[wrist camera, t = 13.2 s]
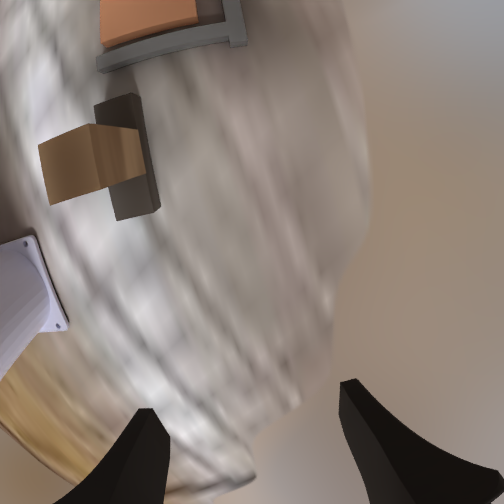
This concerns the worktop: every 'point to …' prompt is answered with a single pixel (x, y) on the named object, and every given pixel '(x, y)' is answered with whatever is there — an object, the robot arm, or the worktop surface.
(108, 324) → the worktop surface
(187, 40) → the frame
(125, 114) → the two-tone stacked blocks
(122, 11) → the tile
